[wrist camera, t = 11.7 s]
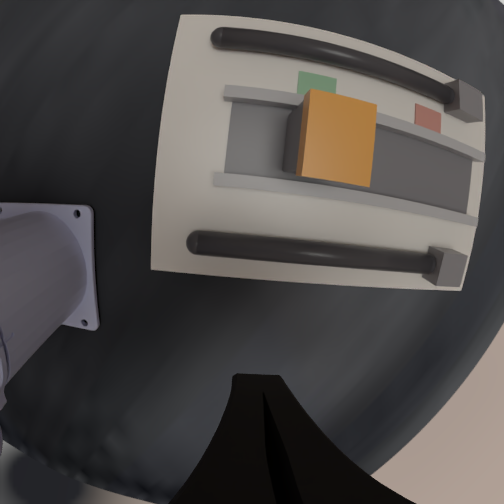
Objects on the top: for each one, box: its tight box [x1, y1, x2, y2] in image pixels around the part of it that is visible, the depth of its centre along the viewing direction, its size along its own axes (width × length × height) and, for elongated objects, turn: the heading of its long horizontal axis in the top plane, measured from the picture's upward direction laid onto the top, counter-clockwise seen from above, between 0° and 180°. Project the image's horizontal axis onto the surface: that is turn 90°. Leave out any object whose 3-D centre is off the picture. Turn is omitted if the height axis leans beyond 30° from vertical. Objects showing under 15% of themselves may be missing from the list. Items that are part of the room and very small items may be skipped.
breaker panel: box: [151, 15, 486, 291], centre depth 14 cm, size 20×14×3 cm
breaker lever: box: [282, 89, 377, 187], centre depth 12 cm, size 3×3×4 cm
